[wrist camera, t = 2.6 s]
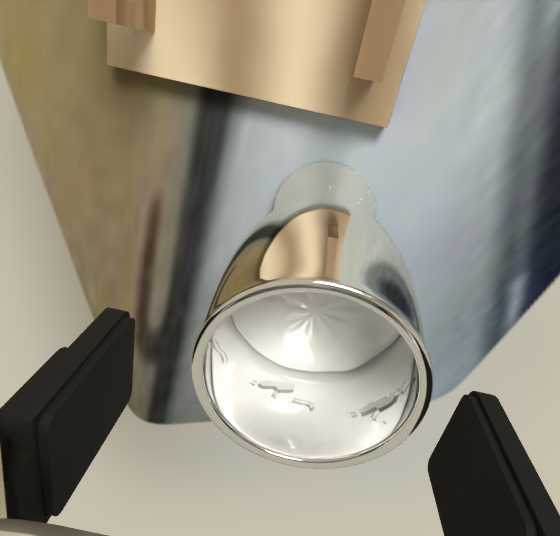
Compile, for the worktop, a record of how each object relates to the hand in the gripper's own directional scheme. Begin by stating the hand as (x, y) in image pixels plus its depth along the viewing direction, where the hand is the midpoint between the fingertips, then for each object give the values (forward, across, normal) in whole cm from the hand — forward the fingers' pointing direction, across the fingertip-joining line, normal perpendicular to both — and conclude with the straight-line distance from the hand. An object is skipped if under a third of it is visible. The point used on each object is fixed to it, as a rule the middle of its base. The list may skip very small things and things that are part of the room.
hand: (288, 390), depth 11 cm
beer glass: (+15, -1, -1) cm, 15 cm away
